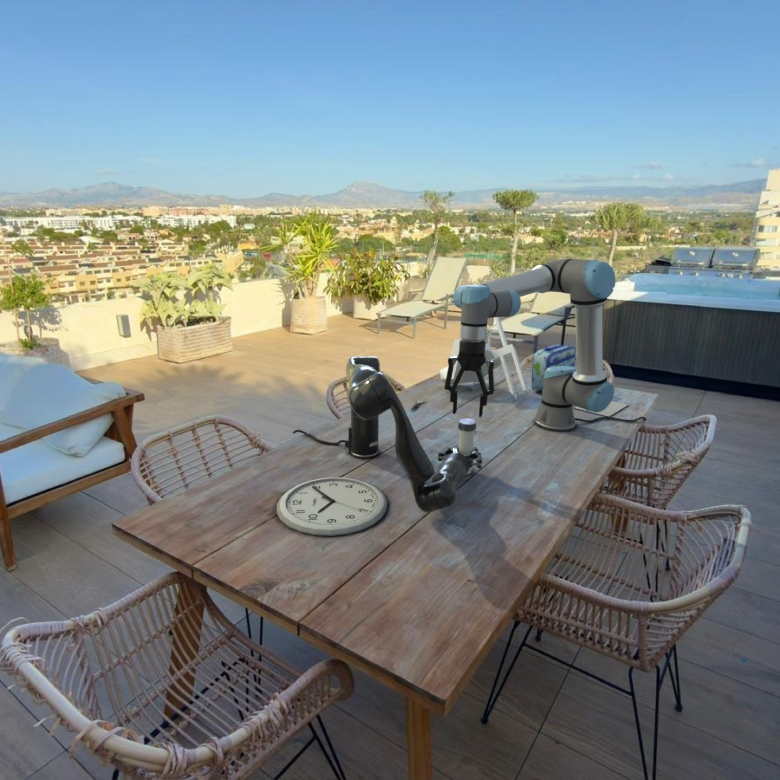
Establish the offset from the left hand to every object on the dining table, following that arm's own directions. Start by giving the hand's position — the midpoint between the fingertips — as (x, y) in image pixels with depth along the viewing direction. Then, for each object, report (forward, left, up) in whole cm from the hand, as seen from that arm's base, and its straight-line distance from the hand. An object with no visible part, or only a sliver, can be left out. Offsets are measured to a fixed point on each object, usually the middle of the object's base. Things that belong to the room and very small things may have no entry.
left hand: (467, 448), depth 164 cm
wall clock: (-28, -38, -7) cm, 47 cm away
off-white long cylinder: (0, -3, -7) cm, 7 cm away
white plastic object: (-14, +81, -7) cm, 82 cm away
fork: (-34, +51, -7) cm, 62 cm away
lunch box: (+16, +101, -7) cm, 102 cm away
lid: (0, -3, +10) cm, 10 cm away
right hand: (0, -3, +12) cm, 13 cm away
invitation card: (+39, +83, -7) cm, 92 cm away
